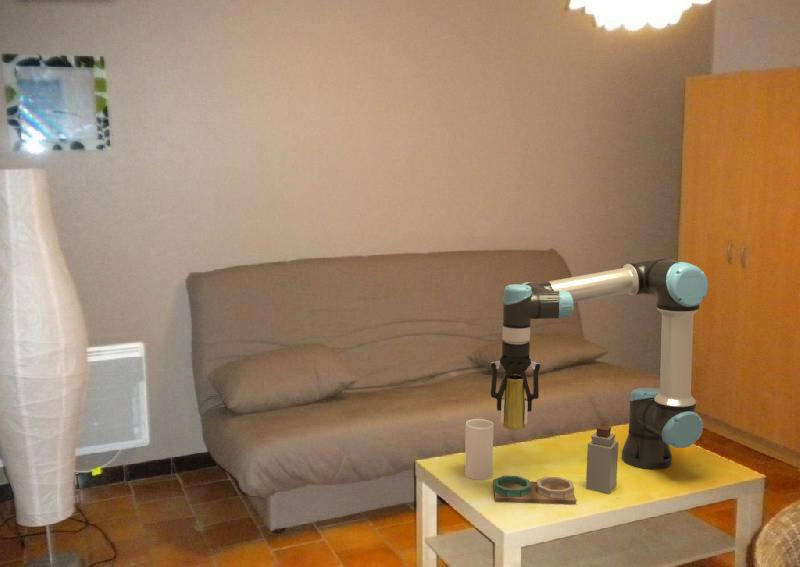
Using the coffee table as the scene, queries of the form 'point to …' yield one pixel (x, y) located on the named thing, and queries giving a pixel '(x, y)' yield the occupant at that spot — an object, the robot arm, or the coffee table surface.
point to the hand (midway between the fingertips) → (513, 421)
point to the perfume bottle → (602, 461)
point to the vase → (514, 403)
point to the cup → (479, 449)
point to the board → (534, 490)
